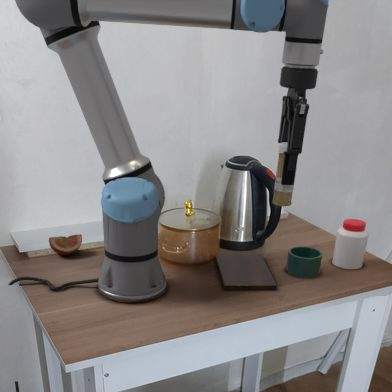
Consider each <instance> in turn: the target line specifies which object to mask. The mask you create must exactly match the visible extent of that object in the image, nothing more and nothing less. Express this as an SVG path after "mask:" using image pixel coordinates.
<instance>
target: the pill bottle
mask: <svg viewBox="0 0 392 392" xmlns="http://www.w3.org/2000/svg"><path fill="white" fill-rule="evenodd" d="M366 226H367V223H366V222H365V221H364V220H362V219H359V218H358V219H357V218H345V219H344V220H343V223H342V226H341V227H339V228H338V229H337V231H336V236H335V242H334V247H333V253H332V259H331V263H332V264H333V266H335V267H337V268H340V269H343V270H344V269H345V270H358V269H361V268H363V266H364V260H365V256H366V249H367V246H368V241H369V236H370V234H369V231H368V230H367V229H366Z"/></svg>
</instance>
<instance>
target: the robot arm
mask: <svg viewBox="0 0 392 392" xmlns="http://www.w3.org/2000/svg"><path fill="white" fill-rule="evenodd" d="M14 1H15V4H16V7H17V9H18V10H19V12H20V13H21V15H22V16H23V17H24V19H25V20H27V21H28V22H29V23H30V24H32V25H33V26H34V27H37V28H39V31H40V33H41V35H42V38H43V40H44V42H45V45H46V47H47V49H49V50H51V51H53V52H55V53H56V54H57V55H58V56H59V59H60V62H61V64H62V66H63V69H64V71H65V74H66V76H67V78H68V81H69V84H70V86H71V88H72V91H73V93H74V95H75V98H76V101H77V102H78V106H79V108H80V110H81V112H82V116H83V117H84V120H85V122H86V125H87V127H88V129H89V131H90V134H91V137H92V139H93V141H94V144H95V146H96V149H97V152H98V153H99V156H100V160H101V161H102V163H103V166H104V170H103V173H102V175H101V178H102V181H103V184H104V186H103V187H102V190H101V198H100V205H101V212H102V213H101V214H102V229H103V249H104V259H103V261H102V266H101V270H100V272H99V276H98V278H91V279H84V280H83V279H82V280H75V281H70V282H66V283H63V284H61V285H59V286H53V285H52V282H51V281H50V280H48V279H45V278H39V277H34V276H20V277H16V278H14V279H13V280H11V281H10V282H9V283H8V286H13V285H14V284H16V283H18V282H22V281H33V282H38V283H43V284H46V285H47V286H48V289H49V290H51V291H60V290H62V289H64V288H67V287H70V286H77V285H86V284H94V283H97V289H98V292H99V294H100V295H101V296H102V297H103V298H106V299H108V300H110V301H114V302H118V303H126V304H136V303H144V302H145V303H146V302H150V301H152V300H153V301H154V300H155V299H158V298H160V297H161V296H163V295H164V294H165V292H166V290H167V280H166V275H165V272H164V270H163V267H162V264H161V260H160V259H159V220H160V217H161V213H162V211H163V208H164V206H165V200H166V192H165V187H164V185H163V182H162V181H161V178H160V177H159V176H158V174H156V172H155V170H154V166H153V164H152V161H151V159H150V158H149V157H148V156H146V155H144V154H142V153H141V151H140V148H139V145H138V143H137V140H136V138H135V136H134V133H133V130H132V127H131V125H130V122H129V120H128V116H127V114H126V111H125V108H124V106H123V103H122V101H121V98H120V96H119V93H118V90H117V87H116V85H115V82H114V78H113V77H112V74H111V71H110V68H109V66H108V63H107V61H106V58H105V55H104V53H103V50H102V48H101V45H100V42H99V37H98V36H99V34H100V30H101V28H102V27H101V24H100V22H108V23H109V22H110V23H124V24H139V25H140V24H141V25H155V26H170V27H171V26H172V27H187V28H200V29H201V28H203V29H216V30H217V29H218V30H219V29H220V30H233V31H242V32H243V31H245V32H254V33H258V34H259V33H260V34H262V33H263V34H264V33H268V32H279V33H283V32H284V33H285V36H284V42H283V50H282V58H281V63H282V64H283V66H282V67H281V69H280V76H279V77H280V78H279V86H280V87H282V88H287V92H286V95H283V96H282V102H281V103H282V107H281V114H280V123H279V131H278V139H277V143H278V144H280V143H282V142H287V152H283V154H284V155H285V157H284V165H283V173H282V180H281V185H294V186H295V182H294V179H295V180H296V175H295V172H296V173H297V167H296V165H298V159H297V158H299V155H300V154H301V155H302V153H303V145H304V138H305V133H306V125H307V120H308V119H307V118H308V113H309V110H310V104H309V103H308V99H307V90H314V89H315V88H316V87H317V83H318V82H317V81H318V74H319V70H318V68H316V67H318V66H319V64H320V59H321V55H323V54H324V49H323V48H322V45H323V39H324V33H325V27H326V22H327V15H328V8H329V0H14ZM14 386H15V387H14V388H15V392H20V387H19V386H20V385H19V381H17V380H14Z"/></svg>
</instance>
